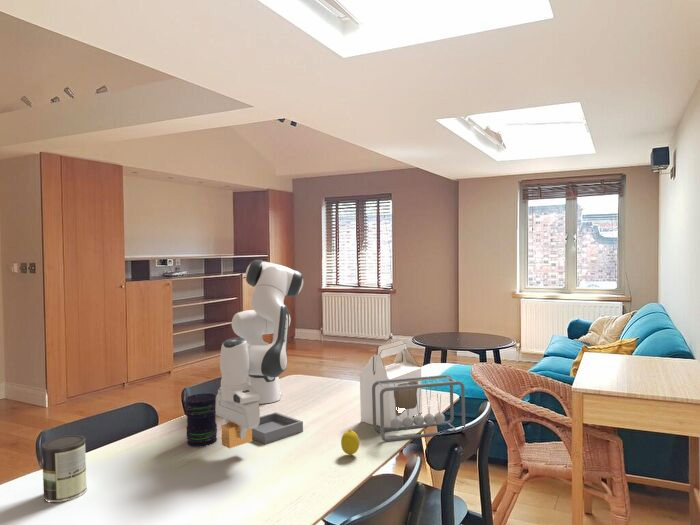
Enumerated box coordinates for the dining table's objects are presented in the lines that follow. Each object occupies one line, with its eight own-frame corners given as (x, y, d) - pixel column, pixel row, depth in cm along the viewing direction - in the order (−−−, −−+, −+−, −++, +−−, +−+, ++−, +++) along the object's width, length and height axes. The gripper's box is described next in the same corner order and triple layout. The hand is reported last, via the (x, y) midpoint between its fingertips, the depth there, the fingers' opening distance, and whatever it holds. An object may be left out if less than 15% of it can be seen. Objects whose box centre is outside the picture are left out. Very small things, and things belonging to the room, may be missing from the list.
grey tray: (238, 432, 182) (238, 422, 182) (276, 421, 193) (275, 412, 193) (265, 443, 170) (264, 433, 170) (303, 431, 182) (302, 421, 182)
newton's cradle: (381, 442, 169) (380, 388, 169) (372, 432, 179) (371, 381, 179) (466, 433, 176) (464, 381, 176) (453, 423, 186) (451, 374, 186)
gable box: (389, 429, 182) (387, 349, 181) (360, 422, 190) (358, 346, 190) (422, 412, 199) (420, 340, 199) (394, 407, 207) (392, 337, 207)
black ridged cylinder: (223, 438, 177) (222, 395, 176) (203, 448, 168) (202, 402, 168) (200, 434, 181) (199, 392, 181) (180, 444, 172) (178, 399, 172)
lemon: (361, 453, 160) (361, 427, 160) (356, 460, 155) (355, 433, 155) (345, 451, 162) (344, 426, 162) (338, 458, 157) (338, 432, 157)
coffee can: (35, 504, 132) (33, 449, 132) (54, 486, 143) (53, 435, 142) (77, 501, 133) (75, 447, 133) (93, 484, 144) (91, 433, 143)
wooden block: (221, 444, 159) (221, 425, 159) (244, 437, 165) (243, 418, 164) (229, 448, 156) (229, 428, 156) (252, 441, 161) (251, 422, 161)
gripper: (209, 387, 165) (211, 430, 165) (244, 400, 150) (246, 447, 151) (227, 383, 169) (228, 425, 170) (262, 395, 155) (264, 441, 155)
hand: (237, 435), depth 160 cm, fingers closed on wooden block, 4 cm apart
